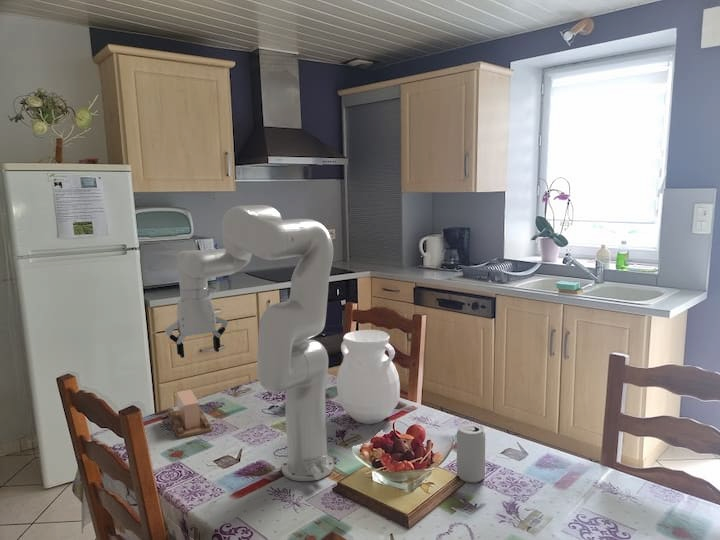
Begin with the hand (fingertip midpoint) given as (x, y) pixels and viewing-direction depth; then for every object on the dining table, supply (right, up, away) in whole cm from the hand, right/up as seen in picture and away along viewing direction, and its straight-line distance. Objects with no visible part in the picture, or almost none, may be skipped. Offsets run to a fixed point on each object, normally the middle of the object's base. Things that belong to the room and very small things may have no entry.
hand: (199, 353), depth 152 cm
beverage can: (+71, -24, -29) cm, 80 cm away
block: (-4, -20, +4) cm, 21 cm away
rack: (-4, -21, +4) cm, 22 cm away
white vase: (+48, -20, +5) cm, 53 cm away
